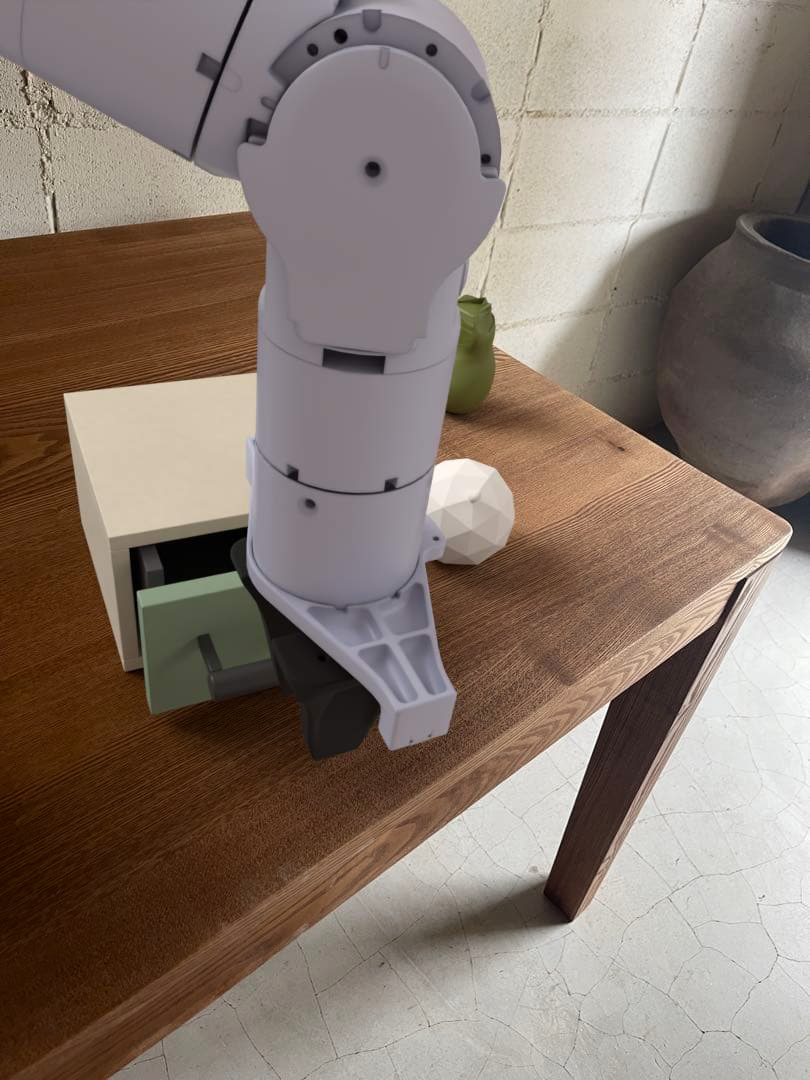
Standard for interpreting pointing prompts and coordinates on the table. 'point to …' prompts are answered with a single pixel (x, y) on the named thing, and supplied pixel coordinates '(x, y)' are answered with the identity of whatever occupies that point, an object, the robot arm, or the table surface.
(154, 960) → the table surface
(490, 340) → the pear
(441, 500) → the ornament
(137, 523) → the storage box
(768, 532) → the table surface
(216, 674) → the drawer
